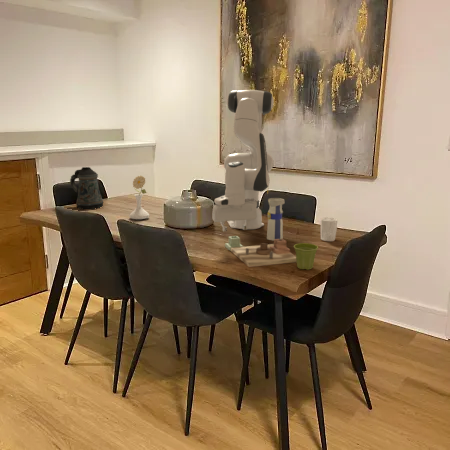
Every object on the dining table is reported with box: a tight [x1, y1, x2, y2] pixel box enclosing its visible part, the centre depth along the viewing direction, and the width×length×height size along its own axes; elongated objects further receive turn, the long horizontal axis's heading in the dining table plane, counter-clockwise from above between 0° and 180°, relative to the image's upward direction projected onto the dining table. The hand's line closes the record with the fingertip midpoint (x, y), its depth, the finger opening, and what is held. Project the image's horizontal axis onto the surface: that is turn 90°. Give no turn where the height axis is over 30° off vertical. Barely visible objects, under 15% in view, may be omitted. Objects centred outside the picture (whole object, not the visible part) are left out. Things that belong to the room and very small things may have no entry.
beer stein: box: [69, 166, 104, 210], centre depth 287 cm, size 16×19×25 cm
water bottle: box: [266, 191, 285, 242], centre depth 218 cm, size 8×9×25 cm
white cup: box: [320, 217, 338, 242], centre depth 219 cm, size 8×8×10 cm
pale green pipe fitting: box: [224, 235, 244, 252], centre depth 205 cm, size 6×6×5 cm
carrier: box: [230, 238, 297, 268], centre depth 194 cm, size 22×22×7 cm
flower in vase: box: [129, 175, 151, 220], centre depth 256 cm, size 13×11×25 cm
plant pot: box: [293, 242, 319, 270], centre depth 180 cm, size 9×9×9 cm
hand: (234, 230), depth 203 cm, fingers open, 8 cm apart
